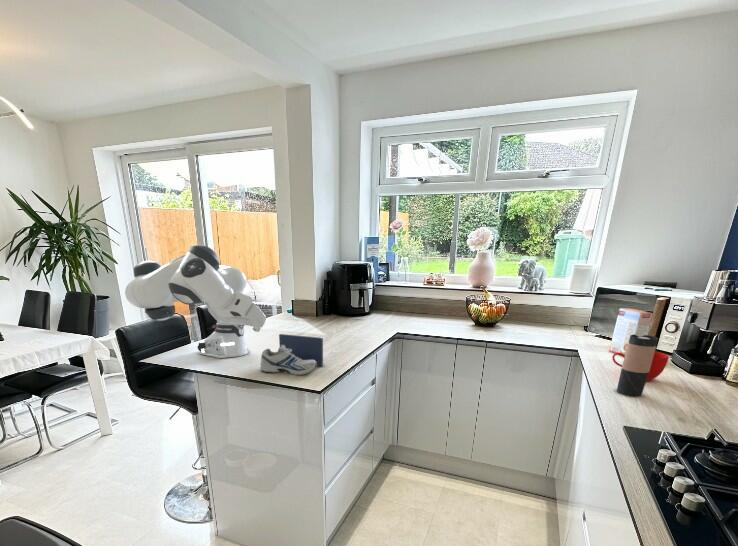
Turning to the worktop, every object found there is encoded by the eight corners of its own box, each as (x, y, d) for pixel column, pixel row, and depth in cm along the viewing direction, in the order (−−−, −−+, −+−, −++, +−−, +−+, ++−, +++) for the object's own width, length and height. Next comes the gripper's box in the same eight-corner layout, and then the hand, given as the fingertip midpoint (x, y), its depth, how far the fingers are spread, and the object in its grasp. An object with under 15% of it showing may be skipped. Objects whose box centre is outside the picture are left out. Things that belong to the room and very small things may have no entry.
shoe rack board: (280, 361, 172) (279, 334, 168) (281, 360, 173) (280, 333, 169) (321, 366, 165) (321, 338, 161) (323, 365, 167) (323, 337, 163)
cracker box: (641, 359, 179) (654, 312, 172) (628, 359, 179) (640, 312, 172) (620, 351, 192) (632, 307, 185) (608, 351, 192) (619, 307, 185)
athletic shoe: (316, 375, 153) (316, 344, 152) (257, 375, 154) (256, 344, 153) (318, 373, 163) (317, 344, 162) (262, 373, 164) (262, 344, 163)
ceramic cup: (609, 369, 164) (614, 346, 160) (660, 377, 154) (668, 352, 151) (607, 377, 154) (613, 352, 150) (662, 386, 145) (670, 360, 141)
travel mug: (634, 398, 133) (650, 340, 126) (610, 391, 139) (625, 335, 133) (647, 394, 136) (663, 338, 130) (623, 388, 143) (637, 333, 136)
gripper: (197, 308, 126) (223, 333, 137) (245, 314, 116) (269, 340, 127) (206, 292, 128) (231, 318, 139) (254, 297, 118) (277, 324, 129)
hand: (249, 328), depth 133 cm, fingers open, 6 cm apart
